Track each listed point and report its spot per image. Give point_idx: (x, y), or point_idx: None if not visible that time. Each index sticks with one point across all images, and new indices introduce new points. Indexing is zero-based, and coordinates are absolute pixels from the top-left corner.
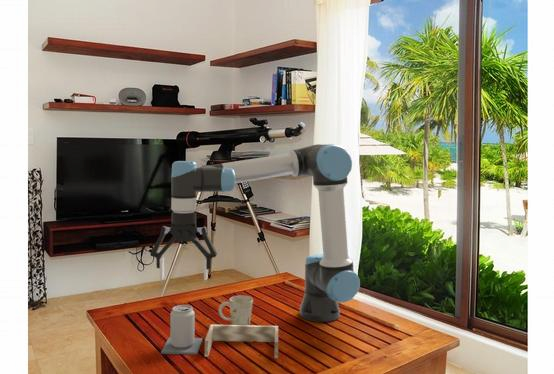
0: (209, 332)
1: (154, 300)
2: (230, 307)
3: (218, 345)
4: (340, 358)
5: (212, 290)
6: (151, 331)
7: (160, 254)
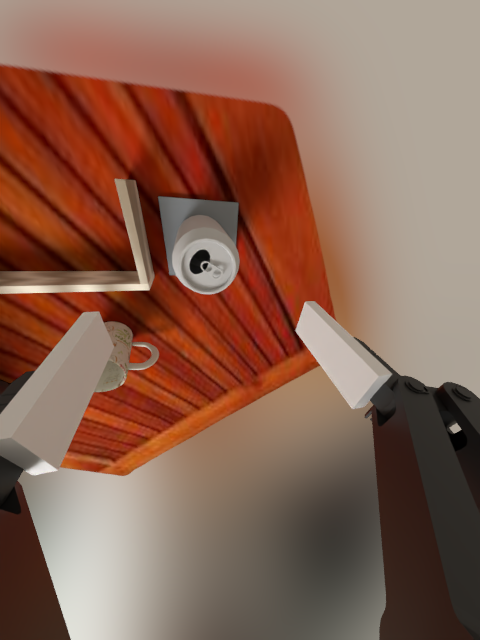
0: (134, 242)
1: (270, 388)
2: (122, 353)
3: (126, 248)
4: None
5: (203, 423)
6: (265, 301)
7: (417, 405)
